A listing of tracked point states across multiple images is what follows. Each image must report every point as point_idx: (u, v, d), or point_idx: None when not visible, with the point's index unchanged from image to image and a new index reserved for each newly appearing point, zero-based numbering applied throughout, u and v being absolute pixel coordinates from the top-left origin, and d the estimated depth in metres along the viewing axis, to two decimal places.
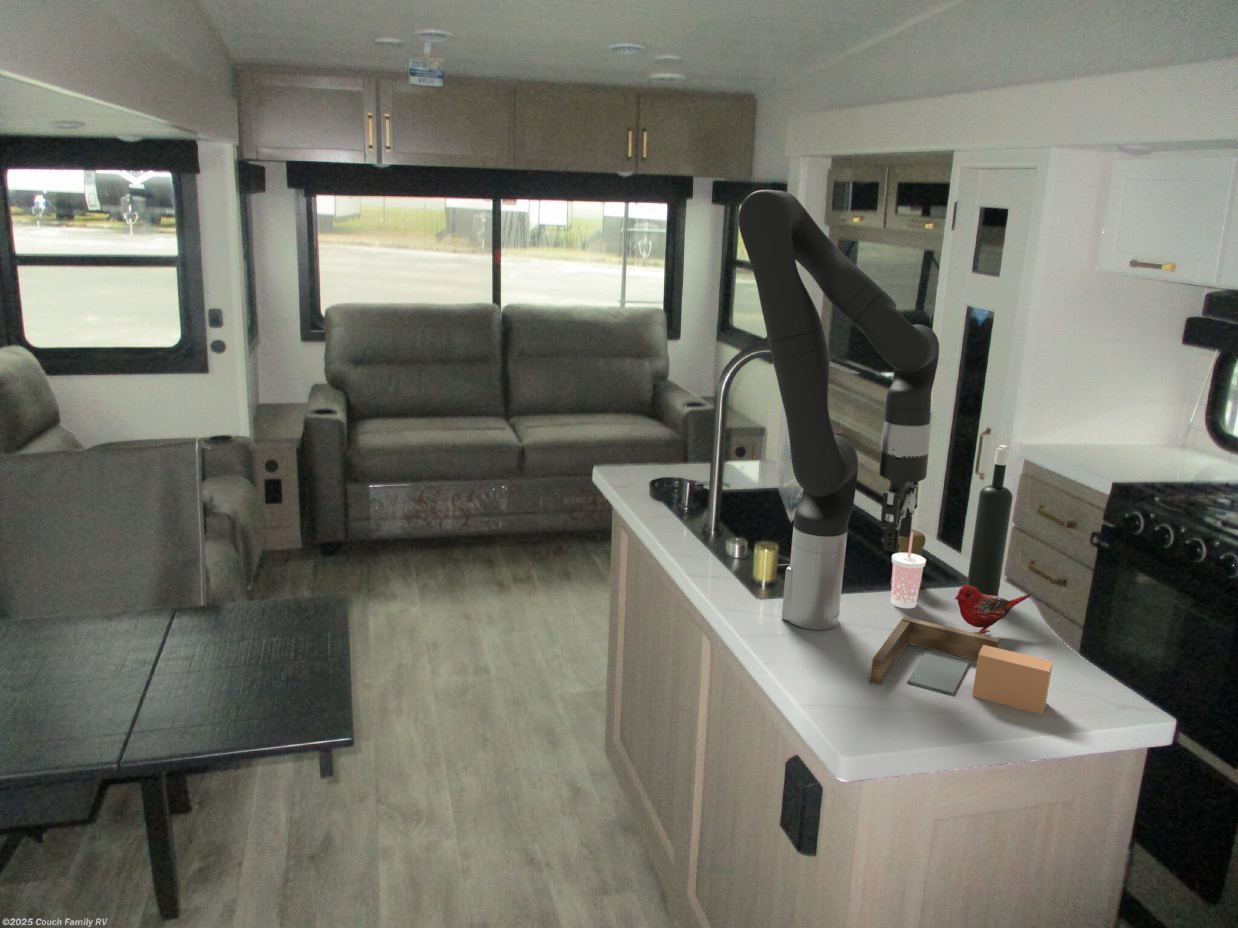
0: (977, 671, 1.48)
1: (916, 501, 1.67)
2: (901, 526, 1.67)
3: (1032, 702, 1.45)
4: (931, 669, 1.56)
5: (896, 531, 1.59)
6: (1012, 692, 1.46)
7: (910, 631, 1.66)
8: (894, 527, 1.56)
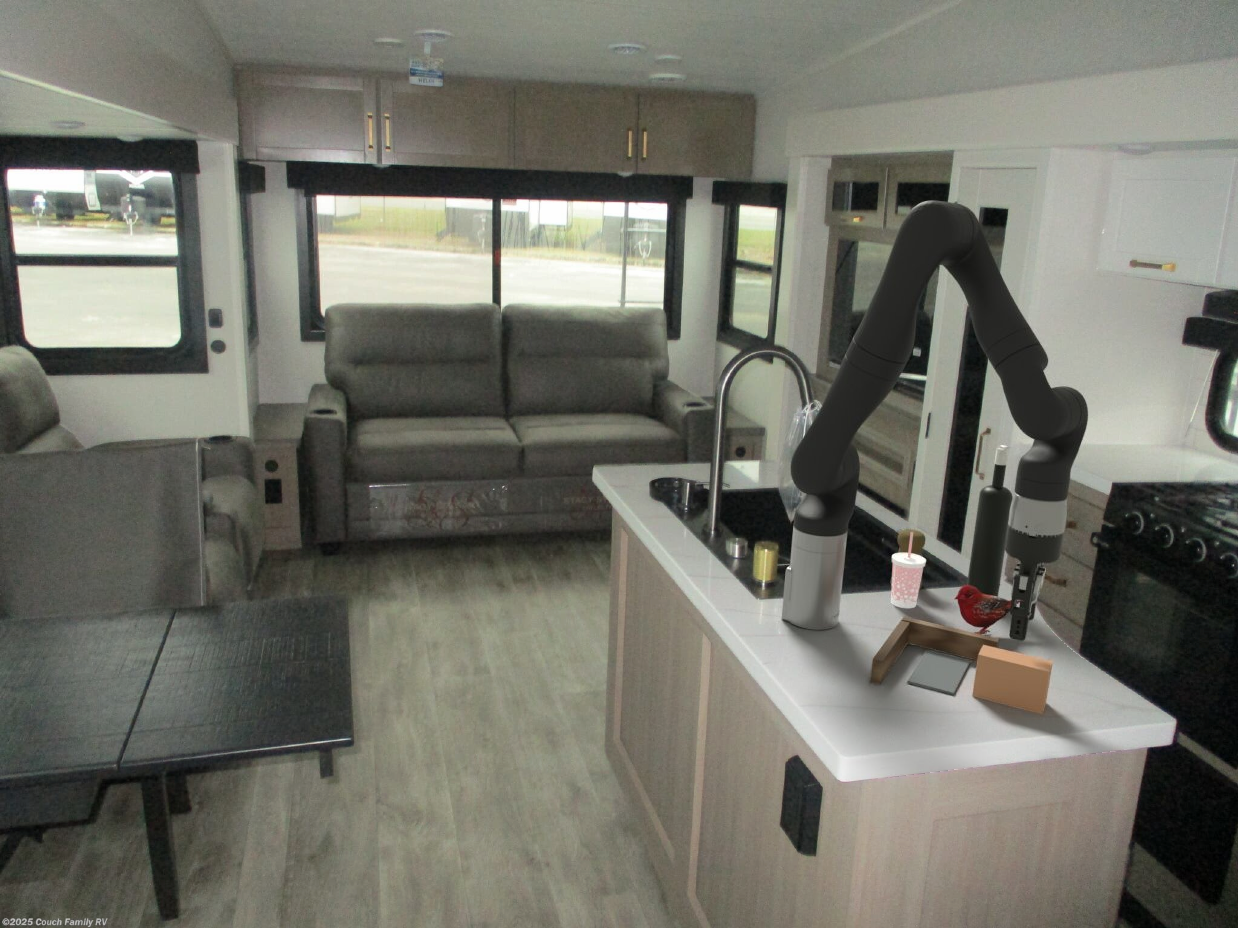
0: (977, 671, 1.48)
1: None
2: (1024, 607, 1.49)
3: (1032, 702, 1.45)
4: (931, 669, 1.56)
5: (1026, 618, 1.41)
6: (1012, 692, 1.46)
7: (910, 631, 1.66)
8: (1026, 615, 1.38)
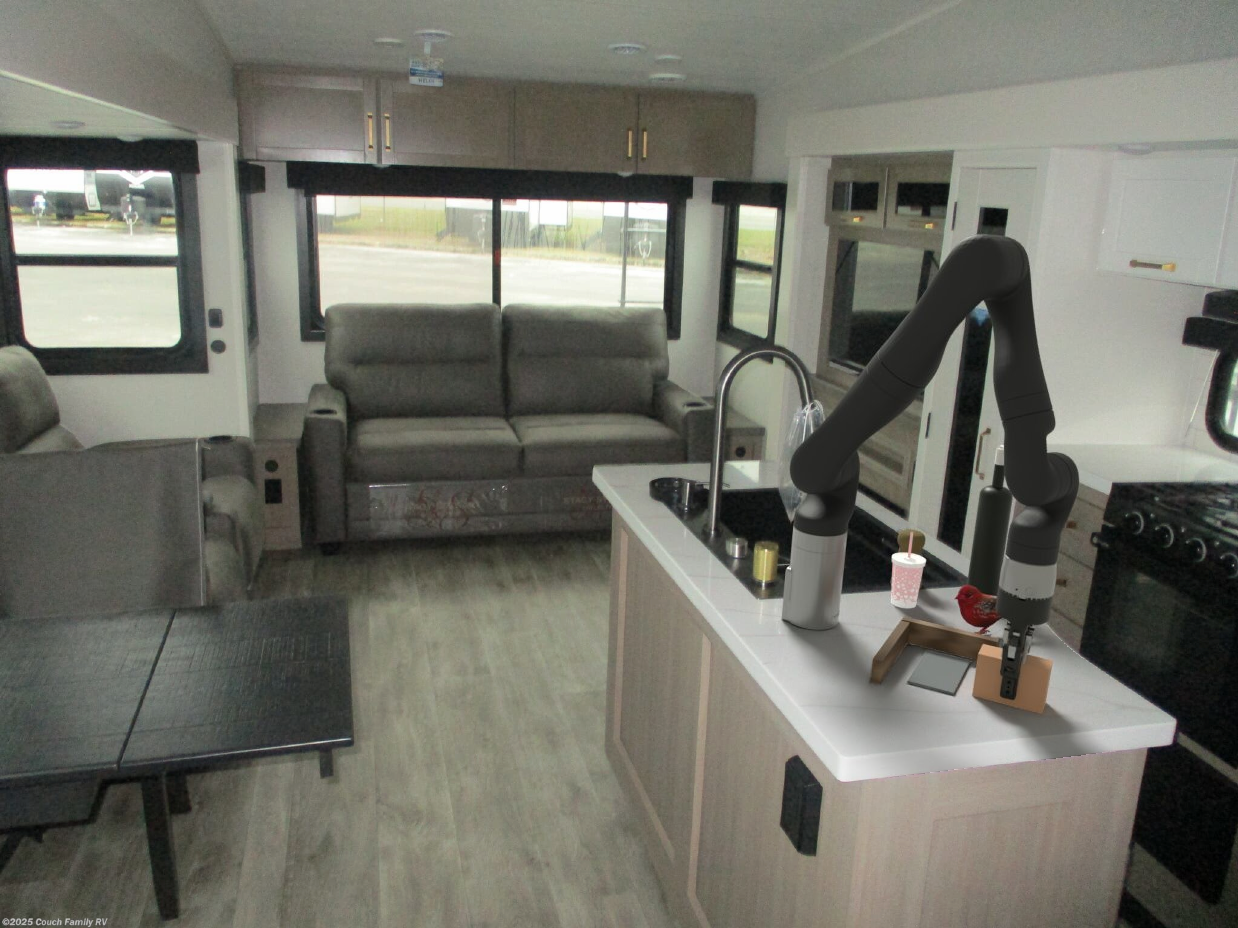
0: (977, 670, 1.48)
1: None
2: None
3: (1032, 702, 1.45)
4: (931, 669, 1.56)
5: (1016, 678, 1.45)
6: None
7: (910, 631, 1.66)
8: (1016, 678, 1.43)
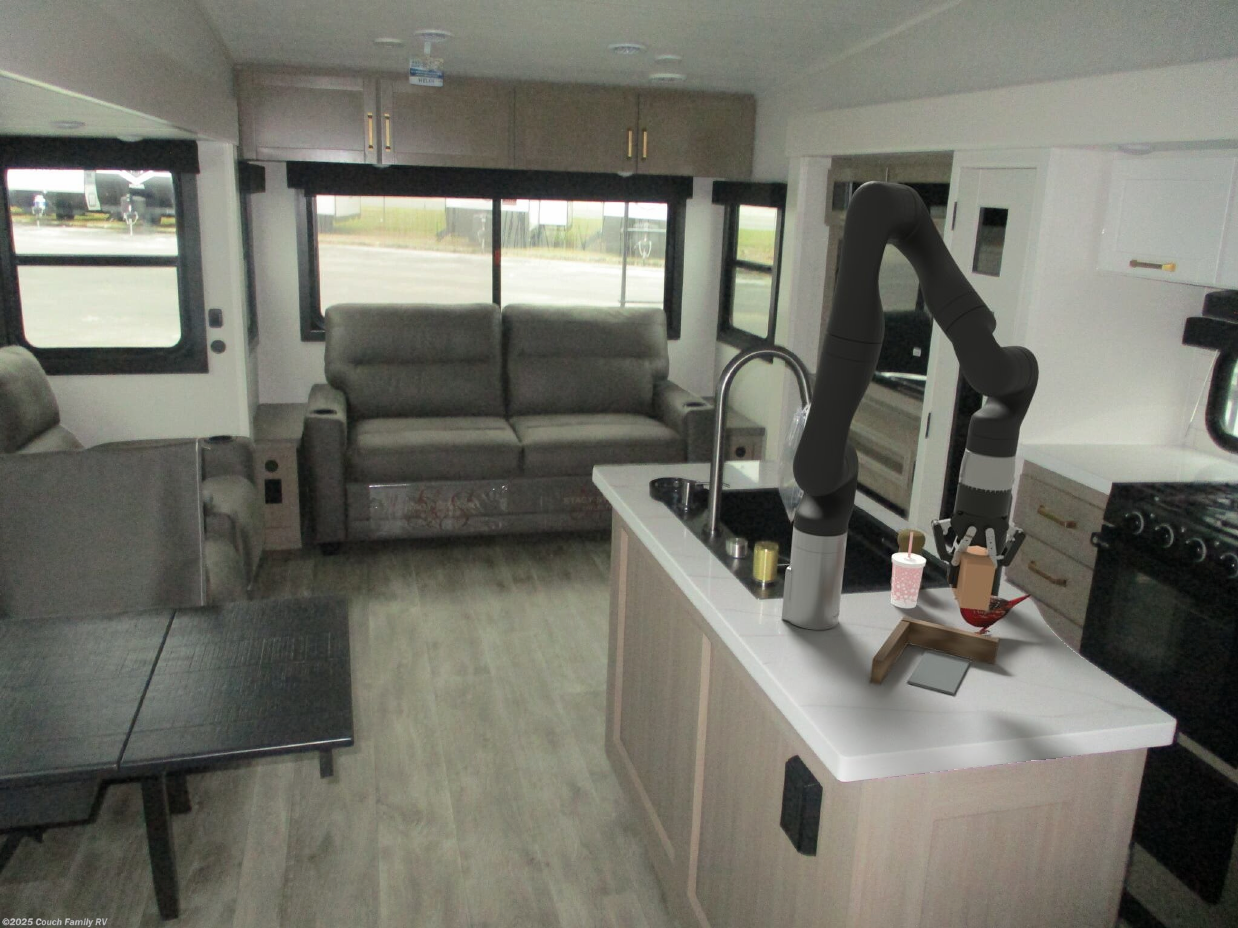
0: None
1: (1008, 558, 1.47)
2: None
3: (959, 594, 1.47)
4: (931, 669, 1.56)
5: (954, 566, 1.49)
6: None
7: (910, 631, 1.66)
8: (940, 558, 1.48)
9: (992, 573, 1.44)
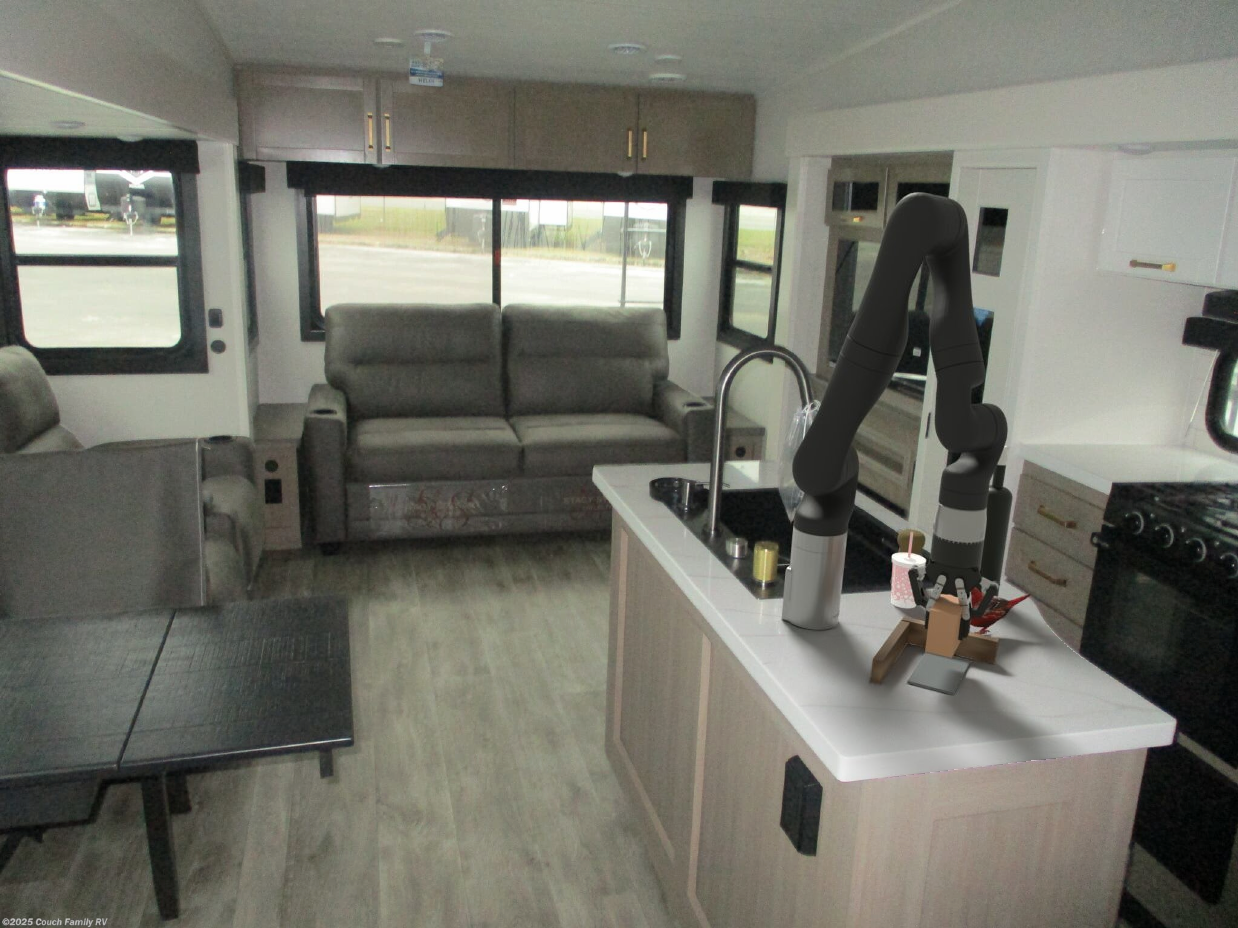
0: None
1: (980, 610, 1.50)
2: None
3: None
4: (931, 669, 1.56)
5: None
6: None
7: (910, 631, 1.66)
8: (915, 602, 1.55)
9: (954, 622, 1.49)
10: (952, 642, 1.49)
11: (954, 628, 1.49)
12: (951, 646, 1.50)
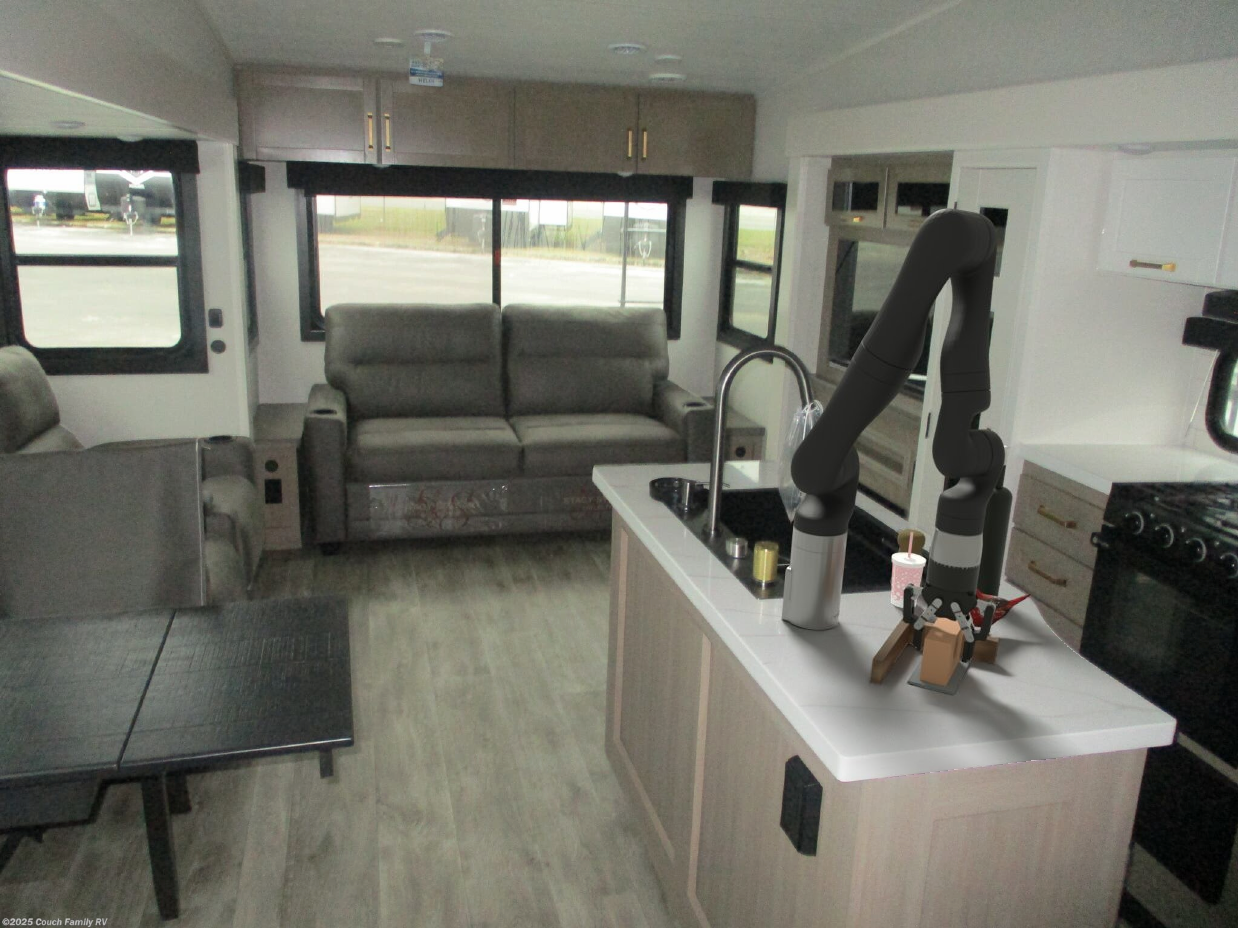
0: None
1: (983, 632, 1.50)
2: None
3: None
4: None
5: (918, 630, 1.56)
6: None
7: (910, 631, 1.66)
8: (903, 619, 1.57)
9: (948, 651, 1.50)
10: (946, 671, 1.51)
11: (948, 657, 1.50)
12: (945, 675, 1.51)
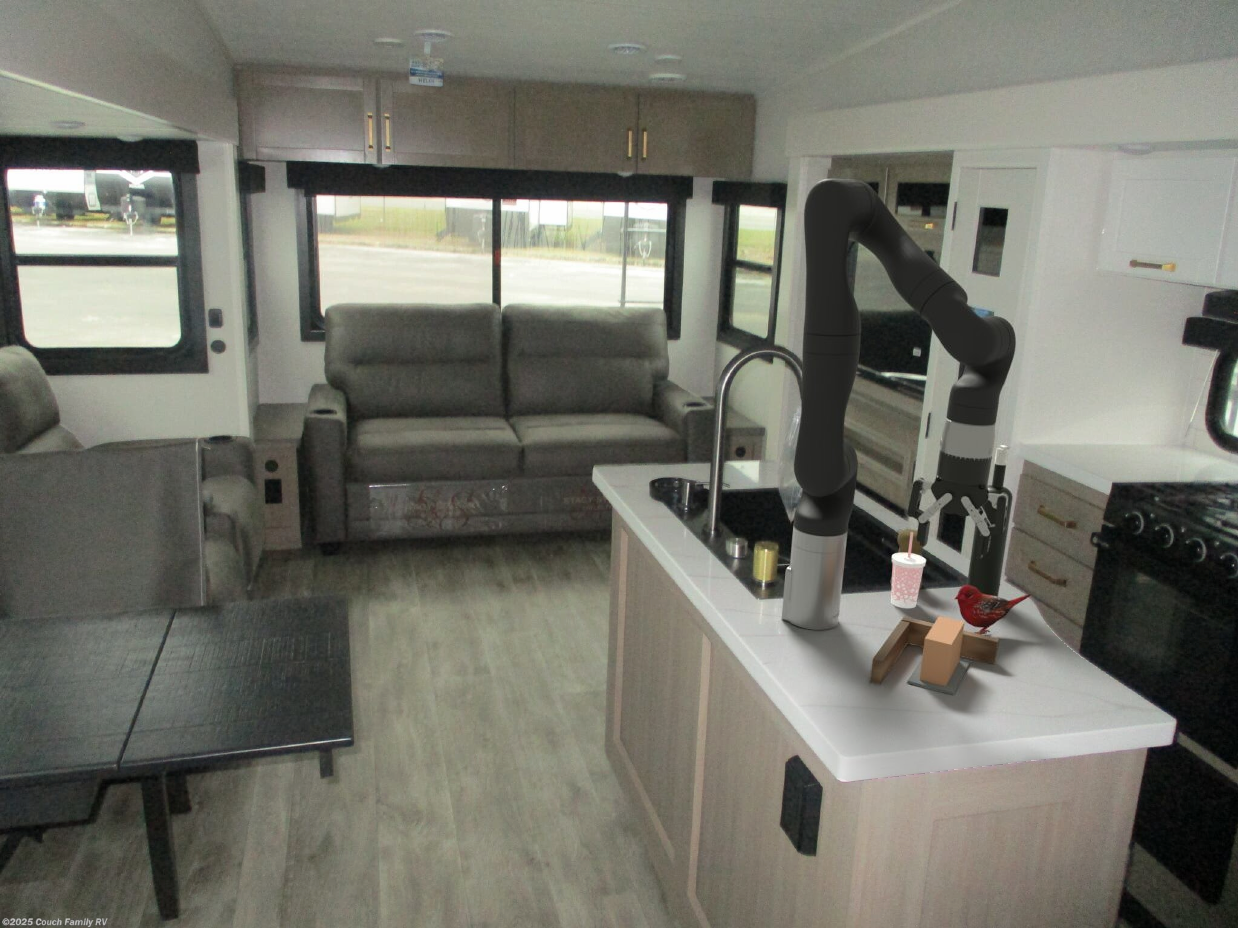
0: None
1: (998, 525, 1.47)
2: None
3: None
4: None
5: (922, 524, 1.53)
6: None
7: (910, 631, 1.66)
8: (907, 512, 1.53)
9: (948, 651, 1.50)
10: (946, 671, 1.51)
11: (948, 657, 1.50)
12: (945, 675, 1.51)
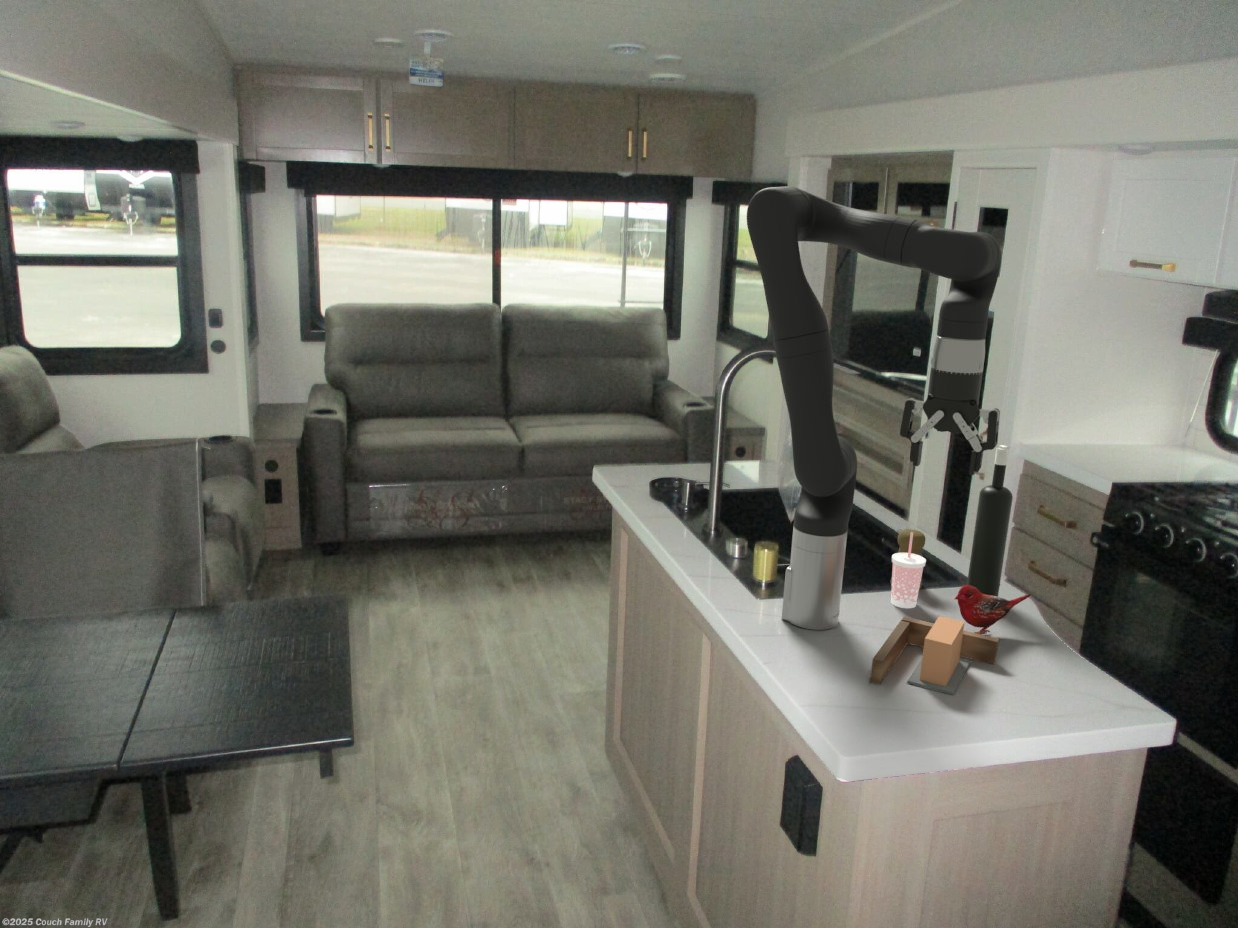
0: None
1: (990, 440, 1.48)
2: None
3: None
4: None
5: (915, 444, 1.54)
6: None
7: (910, 631, 1.66)
8: (900, 433, 1.54)
9: (948, 651, 1.50)
10: (946, 671, 1.51)
11: (948, 657, 1.50)
12: (945, 675, 1.51)
